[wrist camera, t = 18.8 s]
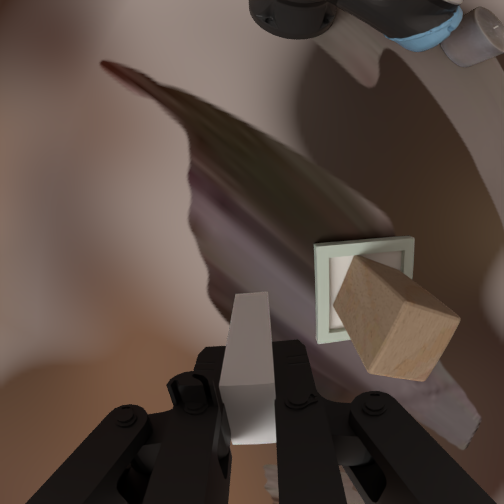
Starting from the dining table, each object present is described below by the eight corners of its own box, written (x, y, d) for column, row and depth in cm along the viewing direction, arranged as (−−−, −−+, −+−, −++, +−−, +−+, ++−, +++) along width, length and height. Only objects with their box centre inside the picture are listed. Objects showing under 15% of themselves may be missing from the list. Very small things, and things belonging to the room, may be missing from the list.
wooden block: (399, 270, 48) (463, 318, 28) (377, 318, 50) (425, 383, 31) (353, 252, 47) (407, 300, 28) (331, 305, 50) (367, 374, 30)
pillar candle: (443, 21, 35) (480, -5, 21) (475, 50, 36) (516, 32, 22) (433, 46, 37) (475, 21, 23) (468, 77, 38) (513, 61, 24)
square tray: (313, 243, 48) (316, 246, 46) (408, 235, 47) (414, 238, 45) (315, 337, 52) (317, 344, 50) (402, 324, 52) (406, 329, 49)
